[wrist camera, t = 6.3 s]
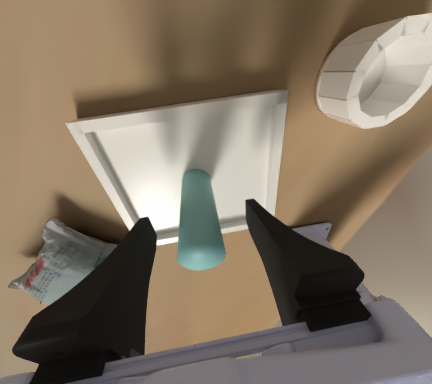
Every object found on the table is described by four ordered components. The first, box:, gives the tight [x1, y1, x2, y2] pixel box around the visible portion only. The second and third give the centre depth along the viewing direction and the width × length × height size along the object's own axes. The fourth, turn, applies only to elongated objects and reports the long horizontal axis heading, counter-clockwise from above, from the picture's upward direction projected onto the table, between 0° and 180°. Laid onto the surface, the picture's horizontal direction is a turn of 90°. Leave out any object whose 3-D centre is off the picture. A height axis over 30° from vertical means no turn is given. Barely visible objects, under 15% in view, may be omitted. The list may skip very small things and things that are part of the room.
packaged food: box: [8, 217, 117, 304], centre depth 19 cm, size 9×12×5 cm
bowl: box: [315, 13, 432, 129], centre depth 13 cm, size 6×6×4 cm
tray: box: [66, 89, 289, 245], centre depth 17 cm, size 14×16×2 cm
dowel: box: [177, 169, 226, 270], centre depth 13 cm, size 3×3×8 cm
